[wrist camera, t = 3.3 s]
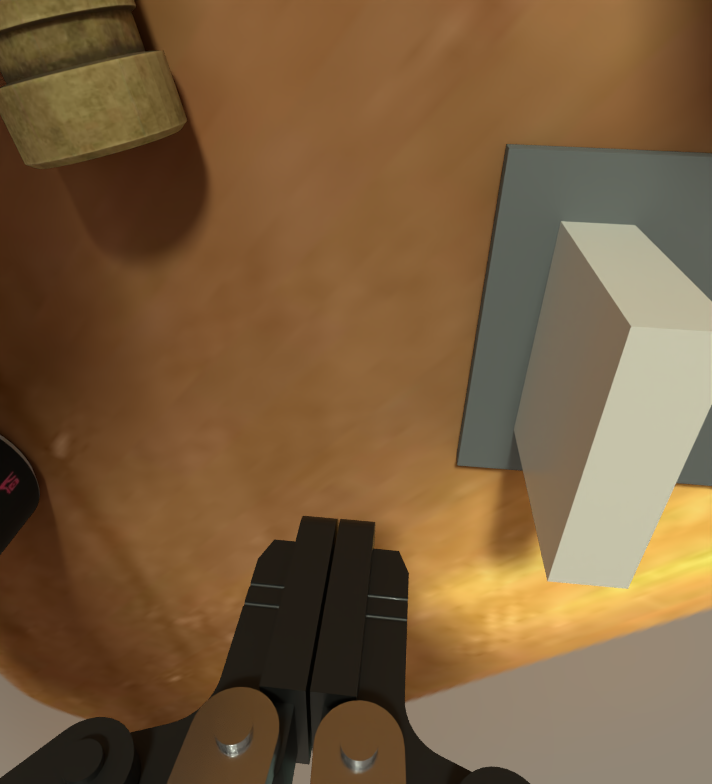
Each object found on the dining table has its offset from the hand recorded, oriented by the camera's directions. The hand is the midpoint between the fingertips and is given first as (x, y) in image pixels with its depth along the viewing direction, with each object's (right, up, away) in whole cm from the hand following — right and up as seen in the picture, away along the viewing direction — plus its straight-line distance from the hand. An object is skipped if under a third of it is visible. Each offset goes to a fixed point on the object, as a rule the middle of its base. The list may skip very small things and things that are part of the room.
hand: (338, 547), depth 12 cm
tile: (+8, +5, +8) cm, 12 cm away
